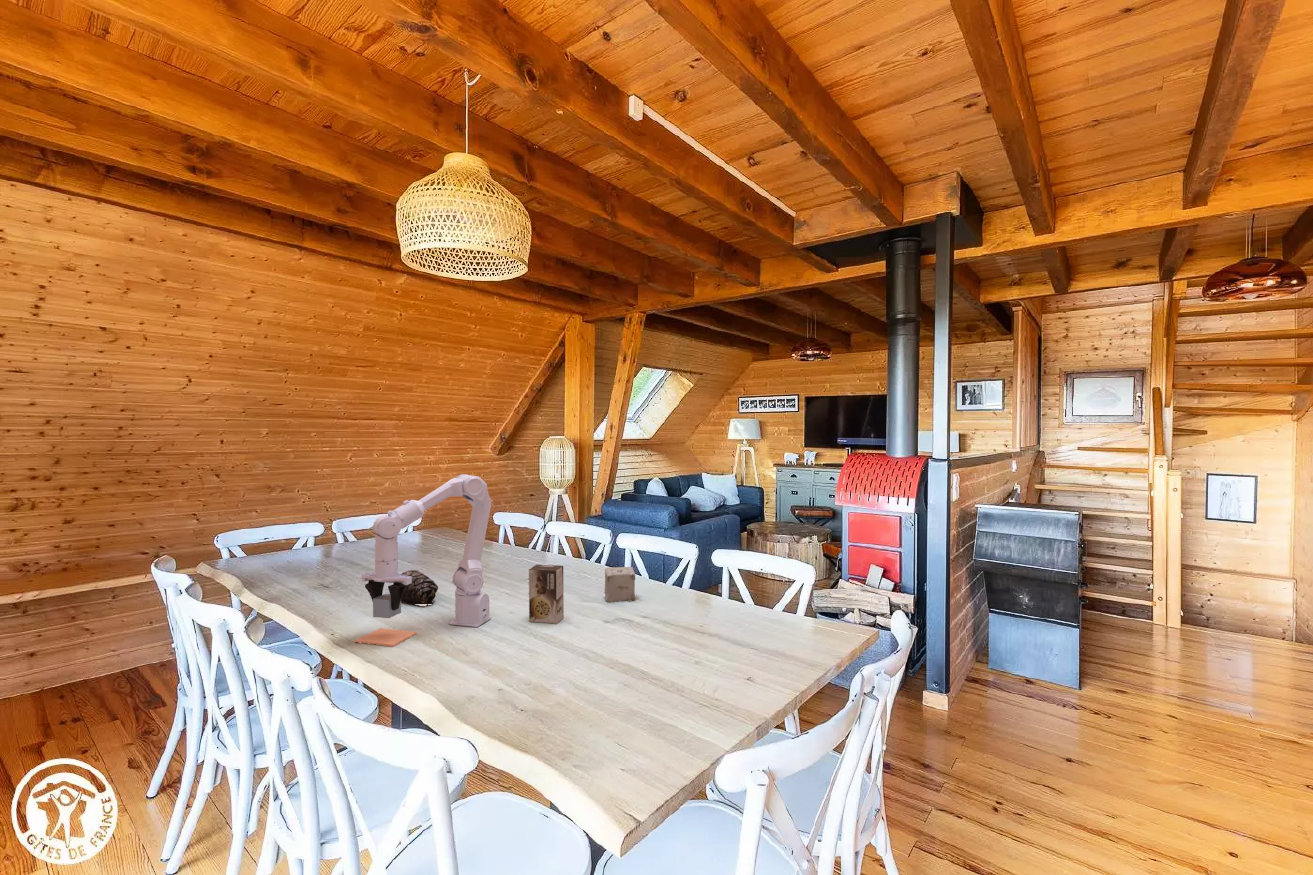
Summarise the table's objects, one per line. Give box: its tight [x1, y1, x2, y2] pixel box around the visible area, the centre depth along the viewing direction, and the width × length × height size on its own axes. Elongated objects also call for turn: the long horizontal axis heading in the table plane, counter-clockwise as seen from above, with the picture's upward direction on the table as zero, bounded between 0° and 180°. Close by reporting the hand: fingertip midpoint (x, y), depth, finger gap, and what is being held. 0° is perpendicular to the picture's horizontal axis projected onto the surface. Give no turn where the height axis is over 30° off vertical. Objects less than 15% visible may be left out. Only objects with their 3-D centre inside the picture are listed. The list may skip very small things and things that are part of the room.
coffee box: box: [528, 564, 565, 624], centre depth 178 cm, size 9×6×16 cm
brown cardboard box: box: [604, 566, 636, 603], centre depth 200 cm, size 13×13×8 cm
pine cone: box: [401, 569, 439, 605], centre depth 196 cm, size 10×18×10 cm, turn 60°
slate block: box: [372, 593, 402, 619], centre depth 162 cm, size 5×5×5 cm
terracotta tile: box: [354, 627, 418, 648], centre depth 162 cm, size 12×10×1 cm
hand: (386, 608), depth 161 cm, fingers closed on slate block, 5 cm apart
